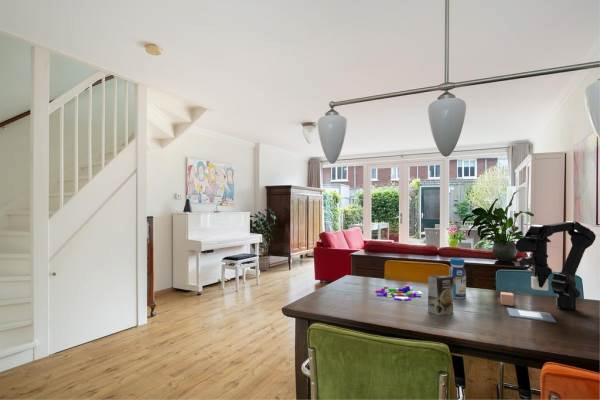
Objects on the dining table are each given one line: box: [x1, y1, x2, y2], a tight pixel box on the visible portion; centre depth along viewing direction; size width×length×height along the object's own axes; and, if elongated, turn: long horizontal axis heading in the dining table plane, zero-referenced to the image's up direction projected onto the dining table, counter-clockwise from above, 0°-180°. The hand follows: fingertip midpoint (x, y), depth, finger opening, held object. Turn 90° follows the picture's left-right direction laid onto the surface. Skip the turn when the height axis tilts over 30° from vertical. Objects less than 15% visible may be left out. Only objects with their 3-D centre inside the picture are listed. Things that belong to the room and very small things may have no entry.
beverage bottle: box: [448, 257, 467, 300], centre depth 172 cm, size 8×8×20 cm
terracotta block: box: [500, 291, 515, 307], centre depth 160 cm, size 5×5×5 cm
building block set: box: [375, 284, 424, 302], centre depth 174 cm, size 25×20×4 cm
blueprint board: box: [506, 307, 557, 323], centre depth 142 cm, size 16×12×1 cm
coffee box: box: [427, 274, 454, 316], centre depth 146 cm, size 9×6×16 cm
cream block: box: [530, 275, 549, 291], centre depth 150 cm, size 6×6×5 cm
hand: (539, 285), depth 150 cm, fingers closed on cream block, 5 cm apart
